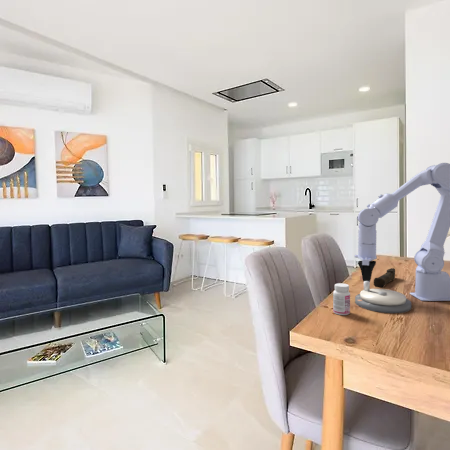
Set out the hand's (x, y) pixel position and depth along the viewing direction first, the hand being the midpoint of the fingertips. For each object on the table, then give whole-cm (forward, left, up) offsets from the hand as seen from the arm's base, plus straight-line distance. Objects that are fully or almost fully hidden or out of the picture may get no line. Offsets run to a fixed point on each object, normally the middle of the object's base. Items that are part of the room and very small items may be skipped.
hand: (366, 281), depth 113 cm
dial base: (-1, +11, -4) cm, 12 cm away
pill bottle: (+14, +18, -5) cm, 24 cm away
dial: (-1, +11, -3) cm, 11 cm away
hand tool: (-13, -16, -5) cm, 21 cm away
